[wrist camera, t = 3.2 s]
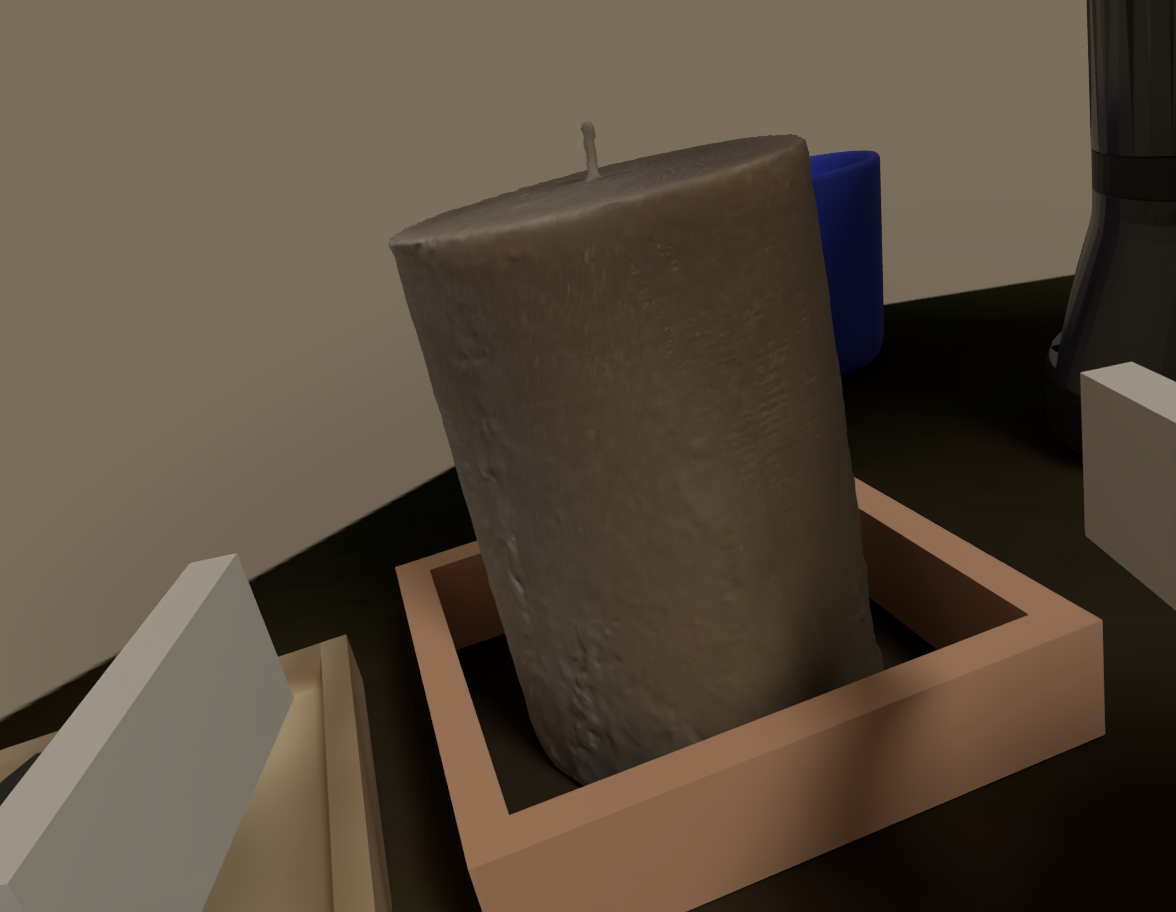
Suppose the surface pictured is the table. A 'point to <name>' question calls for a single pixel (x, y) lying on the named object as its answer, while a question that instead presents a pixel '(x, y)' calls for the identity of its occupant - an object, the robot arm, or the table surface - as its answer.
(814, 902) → the table surface
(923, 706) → the holder
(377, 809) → the tray
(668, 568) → the pillar candle
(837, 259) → the mug
